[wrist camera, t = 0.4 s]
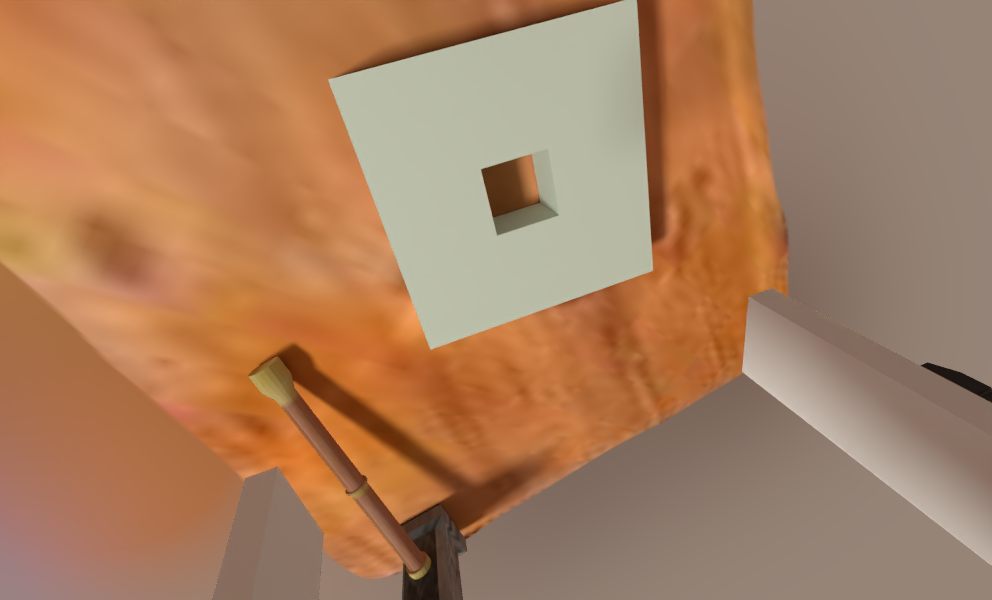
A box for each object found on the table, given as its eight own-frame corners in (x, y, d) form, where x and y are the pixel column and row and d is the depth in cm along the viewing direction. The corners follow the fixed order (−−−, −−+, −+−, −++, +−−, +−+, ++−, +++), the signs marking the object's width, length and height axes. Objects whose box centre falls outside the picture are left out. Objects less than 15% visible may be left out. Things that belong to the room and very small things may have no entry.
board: (331, 78, 29) (328, 79, 26) (606, 5, 32) (636, -4, 29) (424, 325, 39) (430, 349, 36) (628, 254, 42) (653, 270, 38)
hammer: (257, 401, 27) (485, 682, 37) (313, 322, 42) (464, 535, 52) (171, 449, 27) (421, 719, 36) (258, 353, 42) (420, 561, 52)
